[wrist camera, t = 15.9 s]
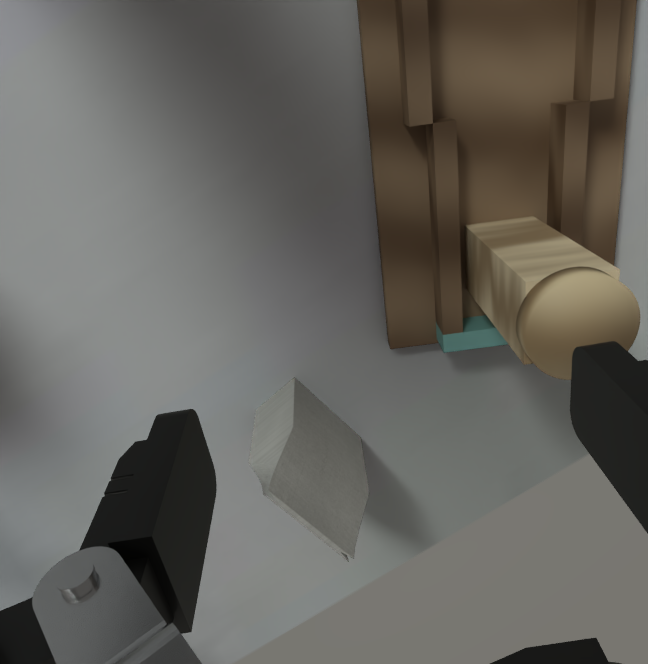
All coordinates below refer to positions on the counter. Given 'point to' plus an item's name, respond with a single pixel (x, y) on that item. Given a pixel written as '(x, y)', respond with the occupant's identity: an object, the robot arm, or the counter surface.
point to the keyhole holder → (488, 140)
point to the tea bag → (311, 465)
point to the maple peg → (546, 292)
